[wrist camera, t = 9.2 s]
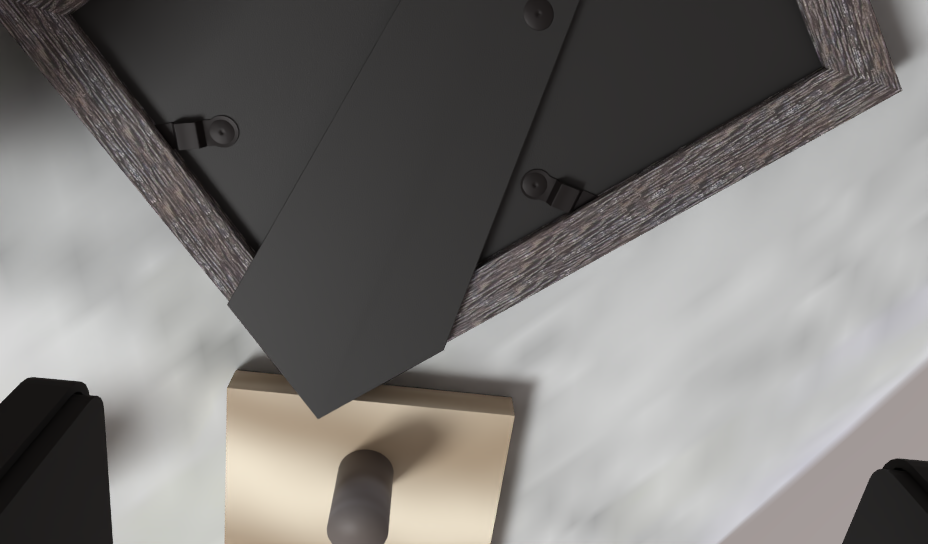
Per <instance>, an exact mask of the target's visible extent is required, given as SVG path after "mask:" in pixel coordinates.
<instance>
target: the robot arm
mask: <svg viewBox="0 0 928 544" xmlns="http://www.w3.org/2000/svg"><path fill="white" fill-rule="evenodd" d="M0 544H113V537H112V522H111V507H110V492H109V477H108V462H107V447H106V432H105V417H104V406H103V402H102V399H101V398H100V397H98V396H91V395H89V390H88V388H87V386H86V384H84V383H83V382H78V381H68V380H57V379H47V378H36V377H31V378H27V379H25V380H24V381H23V382H21V383H20V384H19V385H18V386H17V387H16V388H15V389H14V390H13V391H12V392H11V393H10V394H9V395H8V396H7V397H6V398H5V399H4V400H3V401H2V402H1V403H0ZM842 544H928V461H919V460H908V459H893V460H890V461H889V462H888V463H887V464H885V466H884V467H883V469H879V470H877V471H875V472H874V473H873V474H872V476H871V478H870V479H869V482H868V484H867V486H866V489H865V491H864V494H863V496H862V498H861V501H860V503H859V505H858V508H857V510H856V512H855V515H854V517H853V520H852V522H851V524H850V527H849V529H848V531H847V534H846V536H845V539H844V541H843V543H842Z"/></svg>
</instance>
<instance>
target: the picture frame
mask: <svg viewBox="0 0 928 544" xmlns="http://www.w3.org/2000/svg"><path fill="white" fill-rule="evenodd" d="M0 22H1V23H2V24H3V25H4V27H5V28H6V29H7V30H8V31H9V33H10V34H11V35H12V36H13V38H14V39H15V40H16V41H17V42H18V44H19V45H20V46H21V47H22V49H23V50H24V51H25V52H26V53H27V55H28V56H29V57H30V58H31V60H32V61H33V62H34V63H35V64H36V66H37V67H38V68H39V69H40V71H41V72H42V73H43V74H44V75H45V77H46V78H47V79H48V80H49V82H50V83H51V84H52V85H53V87H54V88H55V89H56V90H57V91H58V93H59V94H60V95H61V96H62V98H63V99H64V100H65V101H66V102H67V104H68V105H69V106H70V107H71V109H72V110H73V111H74V112H75V113H76V115H77V116H78V117H79V118H80V120H81V121H82V122H83V123H84V124H85V126H86V127H87V128H88V129H89V131H90V132H91V133H92V134H93V135H94V137H95V138H96V139H97V140H98V142H99V143H100V144H101V145H102V147H103V148H104V149H105V150H106V151H107V153H108V154H109V155H110V156H111V158H112V159H113V160H114V161H115V162H116V164H117V165H118V166H119V167H120V169H121V170H122V171H123V172H124V173H125V175H126V176H127V177H128V178H129V180H130V181H131V182H132V183H133V184H134V186H135V187H136V188H137V189H138V191H139V192H140V193H141V194H142V195H143V197H144V198H145V199H146V200H147V202H148V203H149V204H150V205H151V207H152V208H153V209H154V210H155V211H156V213H157V214H158V215H159V216H160V218H161V219H162V220H163V221H164V222H165V224H166V225H167V226H168V227H169V229H170V230H171V231H172V232H173V233H174V235H175V236H176V237H177V238H178V240H179V241H180V242H181V243H182V244H183V246H184V247H185V248H186V249H187V251H188V252H189V253H190V254H191V256H192V257H193V258H194V259H195V260H196V262H197V263H198V264H199V265H200V267H201V268H202V269H203V270H204V271H205V273H206V274H207V275H208V276H209V278H210V279H211V280H212V281H213V282H214V284H215V285H216V286H217V287H218V289H219V290H220V291H221V292H222V293H223V295H224V296H225V297H226V298H227V300H228V301H229V302H228V304H227V305H228V306H229V308H230V309H231V310H232V311H233V313H234V314H235V315H236V316H237V318H238V319H239V320H240V321H241V323H242V324H243V325H244V327H245V328H246V329H247V330H248V332H249V333H250V334H251V335H252V337H253V338H254V339H255V340H256V342H257V343H258V344H259V346H260V347H261V348H262V349H263V351H264V352H265V353H266V354H267V356H268V357H269V358H270V359H271V361H272V362H273V363H274V364H275V366H276V367H277V368H278V370H279V371H280V372H281V373H282V375H283V376H284V377H285V378H286V380H287V381H288V382H289V383H290V385H291V386H292V387H293V389H294V390H295V391H296V392H297V394H298V395H299V396H300V397H301V399H302V400H303V401H304V402H305V404H306V405H307V406H308V408H309V409H310V410H311V411H312V413H313V414H314V415H315V416H316V418H317V419H320V418H322V417H323V416H325V415H327V414H329V413H331V412H332V411H334V410H336V409H338V408H340V407H341V406H343V405H345V404H347V403H349V402H351V401H352V400H354V399H356V398H358V397H360V396H361V395H363V394H365V393H367V392H369V391H370V390H372V389H374V388H376V387H378V386H380V385H381V384H383V383H385V382H387V381H389V380H390V379H392V378H394V377H396V376H398V375H399V374H401V373H403V372H405V371H407V370H409V369H410V368H412V367H414V366H416V365H418V364H419V363H421V362H423V361H425V360H427V359H428V358H430V357H432V356H434V355H436V354H438V353H439V352H441V351H443V350H444V348H445V345H446V343H447V342H448V341H450V340H452V339H454V338H456V337H457V336H459V335H461V334H463V333H465V332H467V331H468V330H470V329H472V328H474V327H476V326H477V325H479V324H481V323H483V322H485V321H486V320H488V319H490V318H492V317H494V316H495V315H497V314H499V313H501V312H503V311H504V310H506V309H508V308H510V307H512V306H514V305H515V304H517V303H519V302H521V301H523V300H524V299H526V298H528V297H530V296H532V295H533V294H535V293H537V292H539V291H541V290H542V289H544V288H546V287H548V286H550V285H551V284H553V283H555V282H557V281H559V280H561V279H562V278H564V277H566V276H568V275H570V274H571V273H573V272H575V271H577V270H579V269H580V268H582V267H584V266H586V265H588V264H589V263H591V262H593V261H595V260H597V259H598V258H600V257H602V256H604V255H606V254H608V253H609V252H611V251H613V250H615V249H617V248H618V247H620V246H622V245H624V244H626V243H627V242H629V241H631V240H633V239H635V238H636V237H638V236H640V235H642V234H644V233H645V232H647V231H649V230H651V229H653V228H655V227H656V226H658V225H660V224H662V223H664V222H665V221H667V220H669V219H671V218H673V217H674V216H676V215H678V214H680V213H682V212H683V211H685V210H687V209H689V208H691V207H693V206H694V205H696V204H698V203H700V202H702V201H703V200H705V199H707V198H709V197H711V196H712V195H714V194H716V193H718V192H720V191H721V190H723V189H725V188H727V187H729V186H730V185H732V184H734V183H736V182H738V181H740V180H741V179H743V178H745V177H747V176H749V175H750V174H752V173H754V172H756V171H758V170H759V169H761V168H763V167H765V166H767V165H768V164H770V163H772V162H774V161H776V160H777V159H779V158H781V157H783V156H785V155H787V154H788V153H790V152H792V151H794V150H796V149H797V148H799V147H801V146H803V145H805V144H806V143H808V142H810V141H812V140H814V139H815V138H817V137H819V136H821V135H823V134H824V133H826V132H828V131H830V130H832V129H834V128H835V127H837V126H839V125H841V124H843V123H844V122H846V121H848V120H850V119H852V118H853V117H855V116H857V115H859V114H861V113H862V112H864V111H866V110H868V109H870V108H871V107H873V106H875V105H877V104H879V103H881V102H882V101H884V100H886V99H888V98H890V97H891V96H893V95H895V94H897V93H899V92H900V91H902V88H901V86H900V83H899V80H898V77H897V75H896V72H895V69H894V66H893V64H892V61H891V58H890V55H889V52H888V50H887V47H886V44H885V41H884V39H883V36H882V33H881V30H880V28H879V25H878V22H877V19H876V17H875V14H874V11H873V8H872V5H871V3H870V0H0Z"/></svg>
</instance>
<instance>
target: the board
mask: <svg viewBox="0 0 928 544" xmlns="http://www.w3.org/2000/svg"><path fill="white" fill-rule="evenodd" d="M514 417H515V414H514V408H513V402H512V397H502V396H491V395H481V394H471V393H461V392H451V391H441V390H431V389H421V388H411V387H401V386H391V385H380V386H378V387H376V388H374V389H372V390H370V391H369V392H367V393H365V394H363V395H361V396H360V397H358V398H356V399H354V400H352V401H351V402H349V403H347V404H345V405H343V406H341V407H340V408H338V409H336V410H334V411H332V412H331V413H329V414H327V415H325V416H323V417H322V418H320V419H317V418H316V416H315V415H314V414H313V413H312V411H311V410H310V409H309V408H308V406H307V405H306V404H305V402H304V401H303V400H302V399H301V397H300V396H299V395H298V394H297V392H296V391H295V390H294V389H293V387H292V386H291V385H290V383H289V382H288V381H287V380H286V378H285V377H284V376H283V375H280V374H270V373H260V372H250V371H239V370H236V371H235V373H234V375H233V377H232V379H231V381H230V383H229V385H228V387H227V426H226V492H225V544H490V543H491V538H492V533H493V528H494V522H495V517H496V512H497V507H498V501H499V496H500V491H501V486H502V480H503V475H504V470H505V465H506V459H507V454H508V449H509V444H510V438H511V433H512V428H513V423H514Z"/></svg>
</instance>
